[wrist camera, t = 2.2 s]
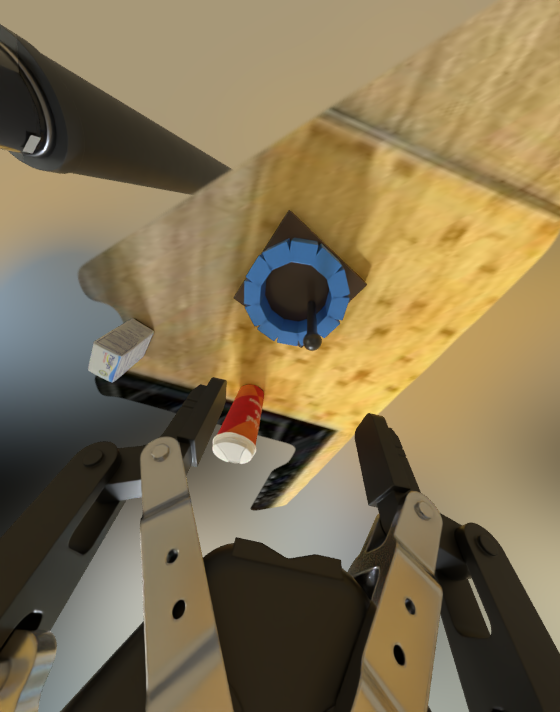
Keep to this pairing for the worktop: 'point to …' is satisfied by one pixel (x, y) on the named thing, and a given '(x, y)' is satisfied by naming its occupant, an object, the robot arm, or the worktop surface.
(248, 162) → the worktop surface
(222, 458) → the paper cup
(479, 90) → the worktop surface
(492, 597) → the robot arm
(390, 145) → the worktop surface
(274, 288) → the brown peg stand
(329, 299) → the blue notched ring
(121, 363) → the medicine box
